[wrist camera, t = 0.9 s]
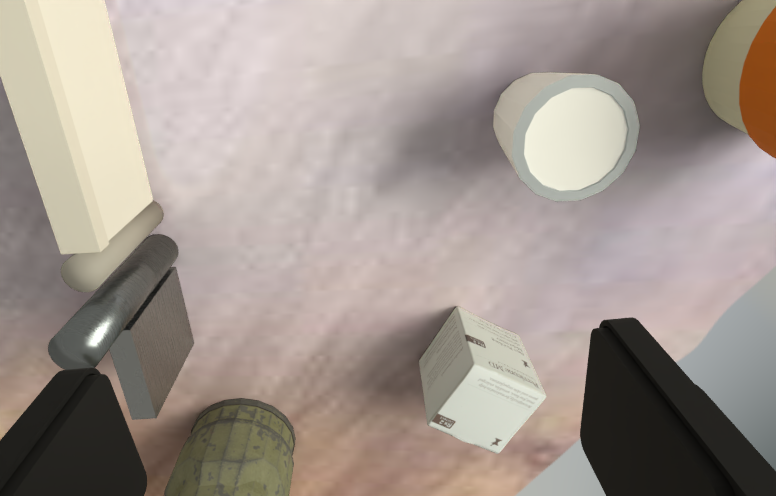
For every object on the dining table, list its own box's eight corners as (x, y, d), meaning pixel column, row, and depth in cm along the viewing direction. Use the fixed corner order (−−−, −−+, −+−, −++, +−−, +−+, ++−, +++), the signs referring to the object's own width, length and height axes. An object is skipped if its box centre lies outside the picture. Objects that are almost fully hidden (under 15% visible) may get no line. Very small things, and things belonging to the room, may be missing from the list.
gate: (41, -133, 26) (-103, -198, 18) (81, -134, 26) (-45, -200, 18) (136, 227, 35) (67, 293, 26) (166, 225, 35) (106, 291, 27)
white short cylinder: (569, 174, 35) (615, 210, 29) (472, 160, 34) (497, 193, 28) (602, 70, 32) (660, 85, 26) (497, 53, 32) (532, 63, 25)
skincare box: (519, 333, 41) (550, 396, 34) (478, 387, 43) (500, 457, 36) (454, 303, 39) (474, 363, 32) (415, 361, 41) (426, 429, 34)
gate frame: (-48, -475, 22) (-461, -966, 11) (9, -475, 22) (-343, -964, 11) (168, 344, 39) (94, 472, 28) (199, 343, 39) (138, 469, 28)
